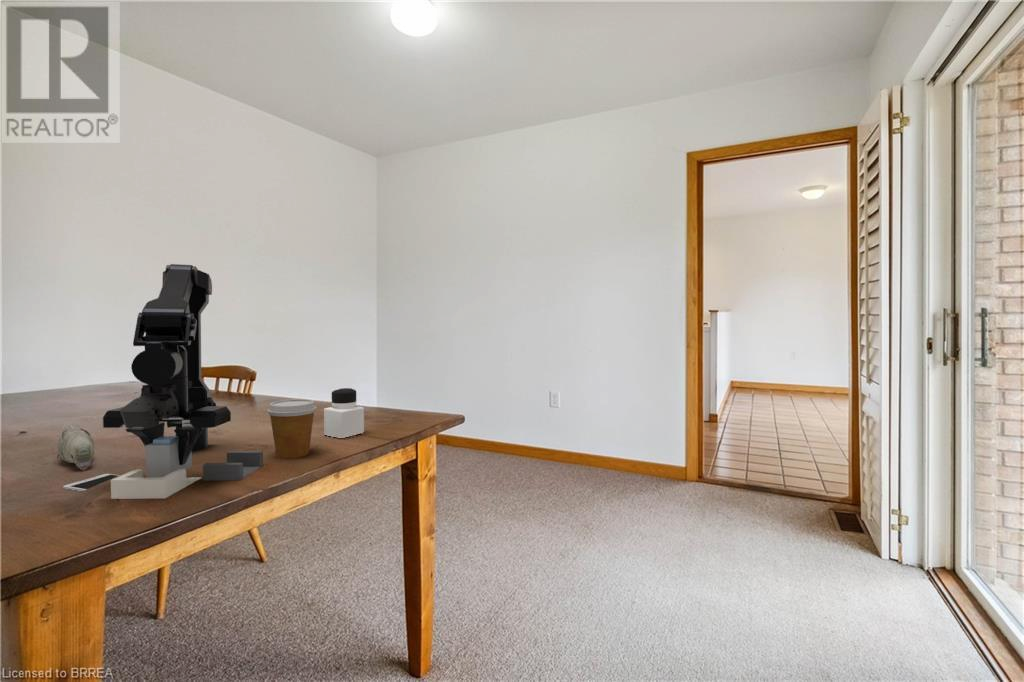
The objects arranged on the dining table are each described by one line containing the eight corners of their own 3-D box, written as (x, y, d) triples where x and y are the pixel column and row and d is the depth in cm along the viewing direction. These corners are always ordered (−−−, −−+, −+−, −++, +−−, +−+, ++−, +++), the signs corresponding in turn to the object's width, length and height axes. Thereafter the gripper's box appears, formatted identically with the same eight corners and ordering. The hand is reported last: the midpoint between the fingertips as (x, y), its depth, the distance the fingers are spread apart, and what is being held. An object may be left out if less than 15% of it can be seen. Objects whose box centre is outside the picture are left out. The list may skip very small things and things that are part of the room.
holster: (230, 468, 95) (230, 450, 95) (263, 468, 95) (263, 450, 95) (203, 484, 86) (202, 464, 86) (239, 484, 86) (239, 464, 86)
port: (154, 482, 87) (154, 461, 87) (202, 481, 87) (201, 461, 87) (111, 503, 77) (110, 480, 77) (165, 502, 77) (164, 479, 77)
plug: (169, 466, 88) (168, 432, 87) (192, 466, 88) (191, 432, 88) (146, 477, 82) (145, 441, 81) (170, 476, 82) (169, 441, 82)
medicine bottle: (364, 434, 124) (364, 388, 124) (341, 439, 118) (341, 391, 117) (346, 430, 128) (346, 386, 127) (323, 435, 122) (323, 389, 121)
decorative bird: (65, 475, 91) (64, 436, 90) (53, 458, 101) (52, 423, 101) (102, 468, 95) (101, 431, 94) (87, 453, 105) (86, 420, 105)
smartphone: (125, 501, 79) (125, 495, 79) (61, 490, 83) (61, 485, 83) (167, 487, 86) (167, 481, 86) (106, 477, 90) (106, 472, 90)
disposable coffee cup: (326, 453, 106) (325, 400, 105) (295, 466, 97) (295, 407, 96) (290, 450, 109) (289, 397, 108) (257, 462, 99) (256, 405, 99)
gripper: (73, 383, 75) (76, 480, 76) (194, 384, 76) (196, 479, 77) (126, 375, 87) (128, 459, 87) (231, 375, 88) (233, 459, 88)
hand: (170, 464), depth 85 cm, fingers closed on plug, 4 cm apart
